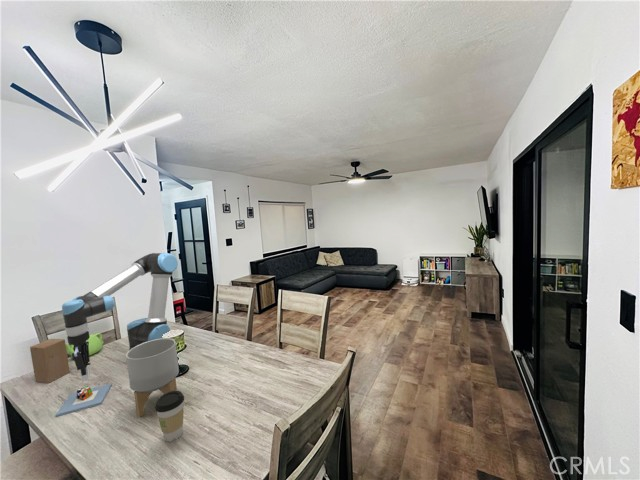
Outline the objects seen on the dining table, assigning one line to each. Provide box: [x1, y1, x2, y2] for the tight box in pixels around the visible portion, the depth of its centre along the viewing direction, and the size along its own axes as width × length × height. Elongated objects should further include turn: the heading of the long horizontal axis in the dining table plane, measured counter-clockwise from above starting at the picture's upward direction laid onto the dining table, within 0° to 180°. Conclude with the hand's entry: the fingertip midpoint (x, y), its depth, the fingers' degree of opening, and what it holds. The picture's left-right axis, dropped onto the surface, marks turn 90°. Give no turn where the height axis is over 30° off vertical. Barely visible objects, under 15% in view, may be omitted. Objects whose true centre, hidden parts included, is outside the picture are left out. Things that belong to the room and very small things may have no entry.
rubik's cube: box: [76, 386, 93, 401], centre depth 124 cm, size 4×5×5 cm
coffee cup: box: [154, 390, 185, 442], centre depth 100 cm, size 10×10×15 cm
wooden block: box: [29, 338, 71, 384], centre depth 145 cm, size 10×10×20 cm
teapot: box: [65, 332, 104, 358], centre depth 169 cm, size 22×15×13 cm
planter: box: [125, 337, 180, 418], centre depth 119 cm, size 19×19×26 cm
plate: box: [54, 382, 113, 418], centre depth 125 cm, size 16×16×1 cm
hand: (86, 379), depth 126 cm, fingers closed
